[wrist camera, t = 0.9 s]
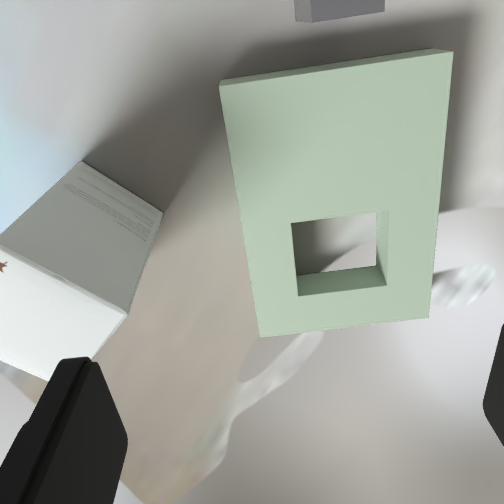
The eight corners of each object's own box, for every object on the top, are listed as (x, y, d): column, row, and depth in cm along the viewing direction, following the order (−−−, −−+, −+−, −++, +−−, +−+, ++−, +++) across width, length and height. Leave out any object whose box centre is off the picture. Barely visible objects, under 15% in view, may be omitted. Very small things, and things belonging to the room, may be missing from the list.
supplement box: (38, 229, 33) (-64, 336, 22) (81, 157, 30) (-11, 238, 19) (120, 277, 35) (66, 395, 24) (168, 213, 33) (130, 314, 22)
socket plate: (220, 80, 28) (218, 86, 25) (433, 47, 27) (453, 51, 24) (259, 315, 38) (260, 337, 35) (415, 296, 37) (428, 317, 34)
